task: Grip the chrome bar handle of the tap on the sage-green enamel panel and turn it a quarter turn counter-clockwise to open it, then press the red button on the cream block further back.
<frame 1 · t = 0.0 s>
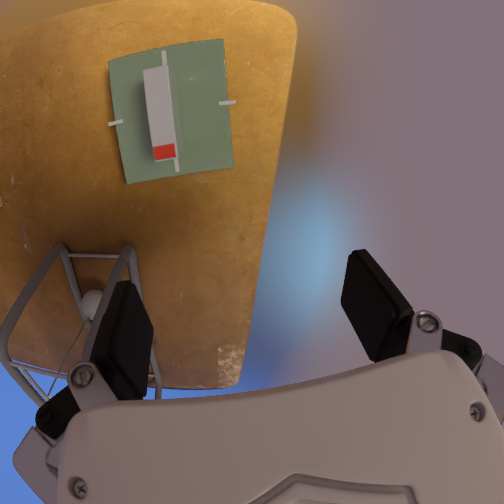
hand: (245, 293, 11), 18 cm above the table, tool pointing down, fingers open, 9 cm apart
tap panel: (173, 109, 22), on the table
newton's cradle: (117, 324, 36), on the table
tap handle: (164, 112, 18), point 5 cm above the table, hinge at 0.0°
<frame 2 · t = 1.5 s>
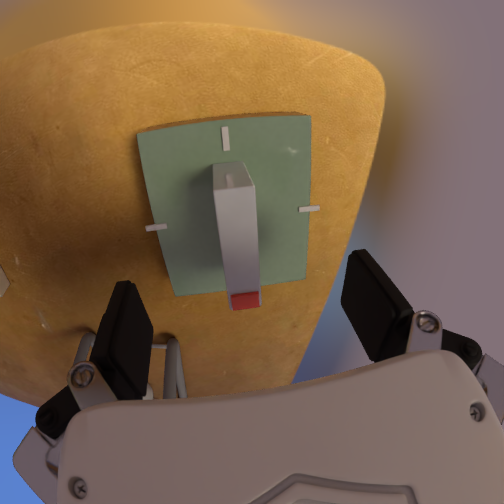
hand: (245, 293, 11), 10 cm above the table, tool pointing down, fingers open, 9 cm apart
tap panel: (229, 198, 19), on the table
newton's cradle: (151, 392, 33), on the table
tap handle: (236, 235, 15), point 5 cm above the table, hinge at 0.0°
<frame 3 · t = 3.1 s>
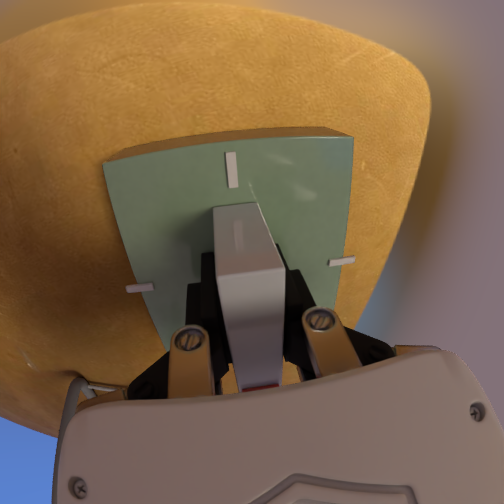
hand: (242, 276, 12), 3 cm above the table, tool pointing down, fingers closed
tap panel: (235, 241, 15), on the table
newton's cradle: (150, 428, 29), on the table
tap handle: (249, 311, 10), point 5 cm above the table, hinge at 0.0°
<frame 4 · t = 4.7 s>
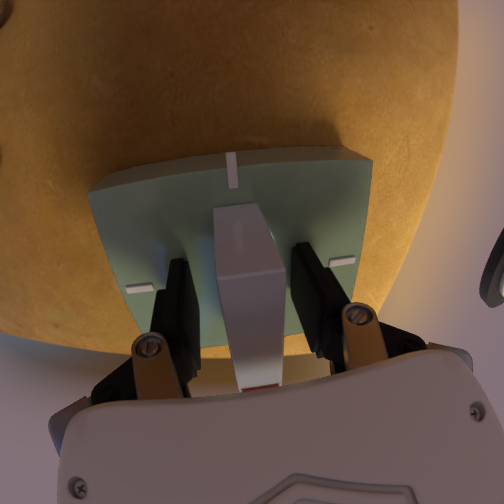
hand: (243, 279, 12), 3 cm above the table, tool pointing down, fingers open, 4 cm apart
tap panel: (236, 241, 15), on the table
tap handle: (249, 312, 10), point 5 cm above the table, hinge at 90.0°
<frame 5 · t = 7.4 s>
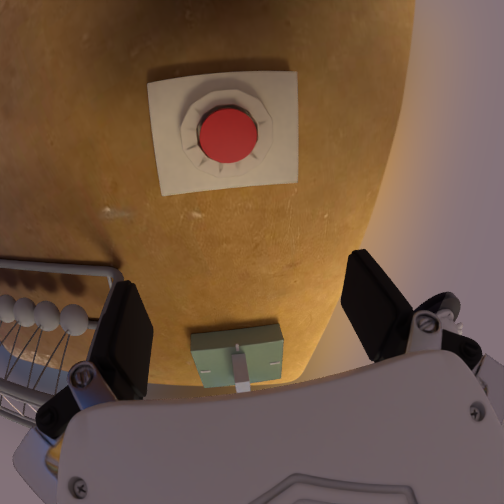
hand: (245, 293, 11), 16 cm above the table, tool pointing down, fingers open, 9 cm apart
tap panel: (237, 351, 38), on the table
start button: (227, 134, 18), point 4 cm above the table, slide at 0.1 cm
newton's cradle: (38, 290, 28), on the table
button block: (224, 128, 22), on the table
tap handle: (242, 381, 34), point 5 cm above the table, hinge at 90.0°
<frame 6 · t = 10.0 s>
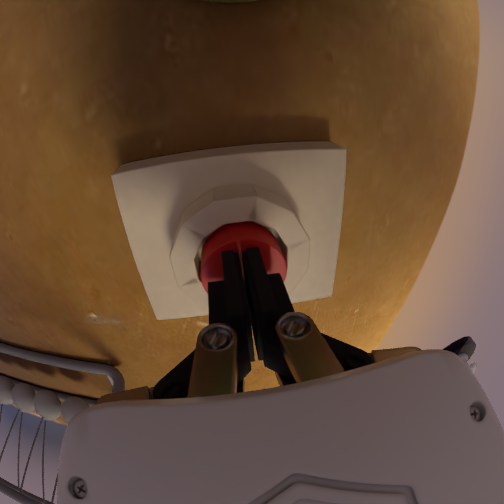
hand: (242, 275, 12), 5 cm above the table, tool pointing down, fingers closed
start button: (242, 265, 13), point 4 cm above the table, slide at -0.2 cm, touching gripper
newton's cradle: (33, 370, 23), on the table
button block: (235, 227, 17), on the table
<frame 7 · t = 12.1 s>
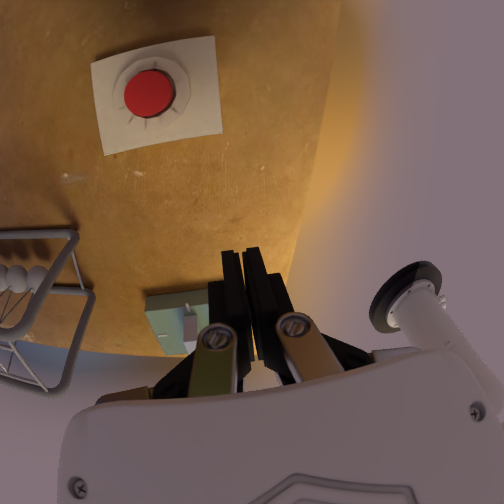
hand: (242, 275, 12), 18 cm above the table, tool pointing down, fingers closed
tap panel: (195, 316, 39), on the table
start button: (148, 93, 18), point 4 cm above the table, slide at 0.1 cm
newton's cradle: (13, 259, 28), on the table
button block: (157, 93, 22), on the table
tap handle: (196, 344, 34), point 5 cm above the table, hinge at 90.0°
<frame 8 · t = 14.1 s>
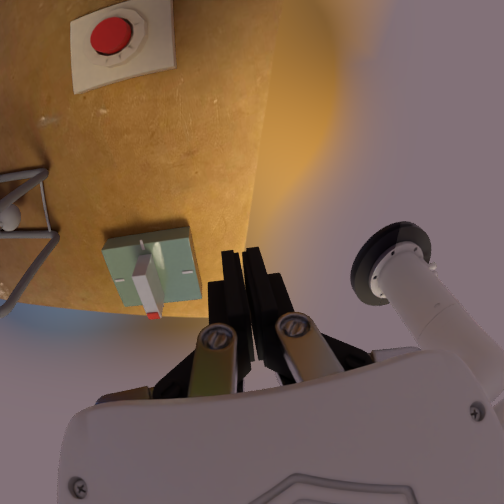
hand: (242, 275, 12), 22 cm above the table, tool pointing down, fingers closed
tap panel: (155, 263, 37), on the table
start button: (110, 35, 17), point 4 cm above the table, slide at 0.1 cm
button block: (123, 42, 21), on the table
tap handle: (149, 287, 32), point 5 cm above the table, hinge at 90.0°
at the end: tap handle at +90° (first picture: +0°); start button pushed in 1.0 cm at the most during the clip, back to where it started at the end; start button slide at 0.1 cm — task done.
